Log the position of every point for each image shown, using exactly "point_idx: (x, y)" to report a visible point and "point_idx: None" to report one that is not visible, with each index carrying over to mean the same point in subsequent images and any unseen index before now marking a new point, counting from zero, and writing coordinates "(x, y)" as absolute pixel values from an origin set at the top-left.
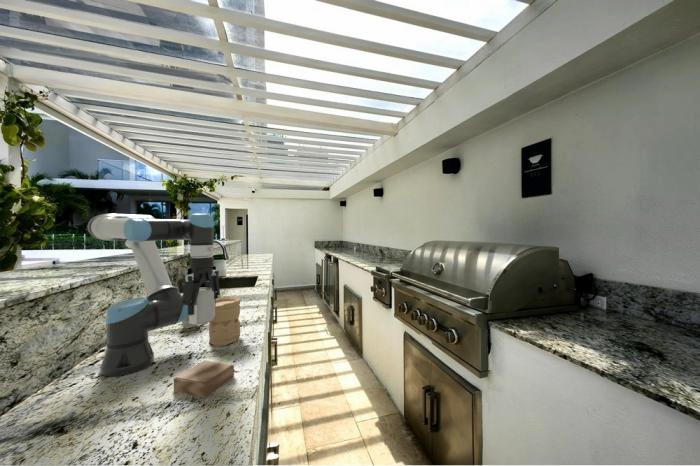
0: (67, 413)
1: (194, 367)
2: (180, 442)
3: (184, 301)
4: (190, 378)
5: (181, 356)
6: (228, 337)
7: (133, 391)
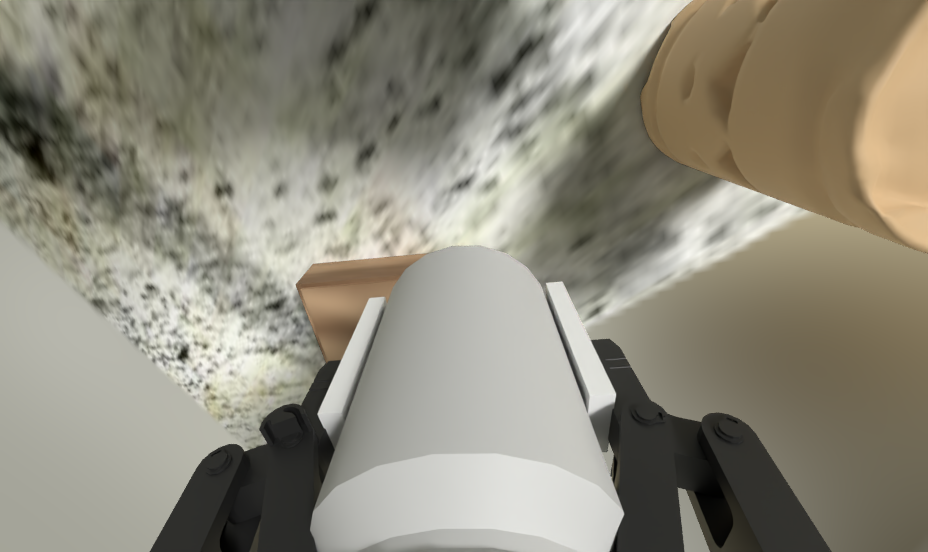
0: (34, 57)
1: (372, 290)
2: (244, 408)
3: (209, 496)
4: (324, 332)
5: (495, 16)
6: (685, 161)
7: (230, 137)
